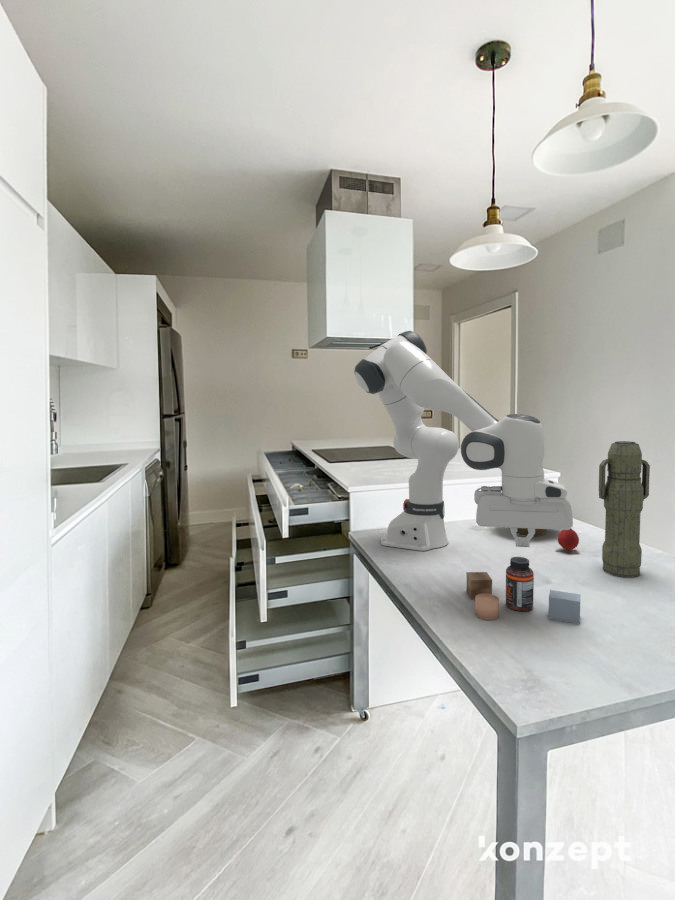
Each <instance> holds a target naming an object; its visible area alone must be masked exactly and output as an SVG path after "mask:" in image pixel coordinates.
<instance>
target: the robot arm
mask: <svg viewBox="0 0 675 900" xmlns="http://www.w3.org/2000/svg"><path fill="white" fill-rule="evenodd" d="M427 353H428V351H427V346H426V344H425V342H424V340H423V338H421V336H420V335H419V334H418V333H416V332H415V331H412V330H405V331H403V332H400V333H398V335H397V336H395V337H393V338H391V339H389V340H387V341H385V342H384V343H382V344H381V345H379V347H378V348H376V349H375V350H373V351H372V352H371V353H369V355H367V356H366V357H365V358H364V359H363V358H362V359H361V360H360V361H359V362H357V364H356V365H355V366H354V376H355V379H356V382H357V384H358V385H359V387H360V388H361V389H362V390H364V391H365V392H366V394H367V393H368V394H371V395H376V394H378V396H379V399H380V401H381V402H382V404H383V406H384V408H385V409H386V412H387V414H388V415H389V417H390V419H391V421H392V423H393V427H394V430H395V435H394V436H393V441H392V442H393V448H394V449H395V451H396V452H397V454H399V455H402V456H403V457H406V458H407V459H413V460H414V459H415V460H417V465H416V466H417V467H416V469H415V471H414V472H413V473H412V474H411V475H410V476H409V478H408V498H405V500H403V504H402V508H403V511H402V512H401V513H400V514H398V515H397V516H396V517H394V518H393V519H392V520H391V521H390V522H389V523H388V526H387V531H386V532H385V533H384V534H383V535H382V536H381V538H380V544H381V545H382V546H386V547H392V548H398V549H399V548H400V549H407V550H413V551H414V550H415V551H421V552H427V551H429V550H432V549H438V548H443V547H444V546H446V545H448V544H449V539H448V537H447V532H446V527H445V516H446V515H445V514H446V513H445V500H444V497H443V494H444V493H443V492H444V491H443V488H444V486H443V485H444V483H443V482H444V477H445V476H444V475H445V471H446V469H447V467H448V465H449V463H450V462H451V461H452V460H453V459H454V458H455V457H456V455H457V454H458V452H459V448H460V454H461V458H462V460H463V461H464V463H465V464H466V466H468V467H469V468H470V469H473V470H478V471H487V470H491V469H500V471H501V485H498V486H497V485H495V486H494V485H493V486H487V485H482V486H481V487H479V488H477V489H476V490H475V491H474V493H473V494H474V495H473V496H474V499H473V500H474V503H475V504H476V507H477V508H476V513H475V523H476V524H477V525H478V526H479V527H483V528H484V527H489V528H491V527H492V528H507V529H508V528H510V529H509V530H510V533H511V535H512V536H513V538H514V539H515V543H514V544H515V547H517V548H518V547H519V548H520V547H521V548H530V545H531V544H530V543H531V540H532V538H533V537H534V536H533V535H534V534H535V529H548V530H556V531H557V530H558V531H559V530H561V531H562V530H569V529H570V528H571V529H572V528H573V525H574V521H573V520H574V518H573V517H574V516H573V509H572V506H571V502H570V501H569V500H568V499H567V494H568V491H567V488H566V486H565V485H563V484H562V483H560V482H557V481H553V480H550V479H546V478H545V471H544V467H543V460H544V457H545V435H544V429H543V425H542V422H541V421H540V420H539V419H538V418H537V417H535V416H532V415H527V414H520V413H519V414H517V413H510V414H506V415H505V416H504V417H503V418H502V419H500V420H499V419H497V418H496V417H494V416H493V415H492V414H491V413H490V412H489V411H488V410H487V409H486V408H484V406H482V405H481V404H480V403H479V402H478V401H477V400H476V399H475V398H473V397H472V396H471V395H470V394H468V393H467V391H465V390H463V388H461V387H460V385H459V384H457V383H456V382H455V381H454V380H452V378H451V377H450V376H449V375H448V374H447V373H446V372H445V371H444V370H443V369H442V368H441V367H440V366H439V365H438V364H437V363H436V362H435V361H434V360H433V359H432V358H431V357H430V356H429V355H428V354H427ZM425 409H431V410H435V411H440V412H444V413H446V414H450V415H452V416H454V417H456V418H457V419H458V420H459V421H460V422H462V424H464V425H465V426H466V427H467V428H468V429H469V430H470V431H471V432H469V433H467V434H466V435H465V436H464V437H463V439H462V441H461V445H460V443H459V438H458V435H456V433H454V431H451V430H448V429H447V428H443V427H438V426H437V427H433V426H427V425H425V424H424V422H423V419H422V416H423V414H424V411H425ZM517 528H528V535H527V536H525V537H522V536H521V537H520V536H519V535H518V534H517V533H516V532H517Z"/></svg>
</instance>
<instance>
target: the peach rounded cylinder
mask: <svg viewBox="0 0 675 900" xmlns="http://www.w3.org/2000/svg"><path fill="white" fill-rule="evenodd" d="M474 602H475V605H474V606H475V609H474V610H475V611H474V612H475V613H474V614H475V616H476V617H477V618H478V619H480V620H483V621H495V620H498V619H499V618H500V598H499V597H498V596H497V595H495V594H493V593H492V594H488V593H482V594H478V595H476V596H475V600H474Z"/></svg>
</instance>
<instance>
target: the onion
mask: <svg viewBox="0 0 675 900" xmlns="http://www.w3.org/2000/svg"><path fill="white" fill-rule="evenodd" d="M557 543H558V544H559V546H560V547H561V548H563V550H565V551H566V552H571V551H572V550H574V549H576V548H577V547H578V545H579V544H580V538H579V535H578V534H577V532H576V531H575V530H573V529H572V527H571V528H570V529H569V530H561V531H560V532H559V533H558V534H557Z"/></svg>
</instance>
